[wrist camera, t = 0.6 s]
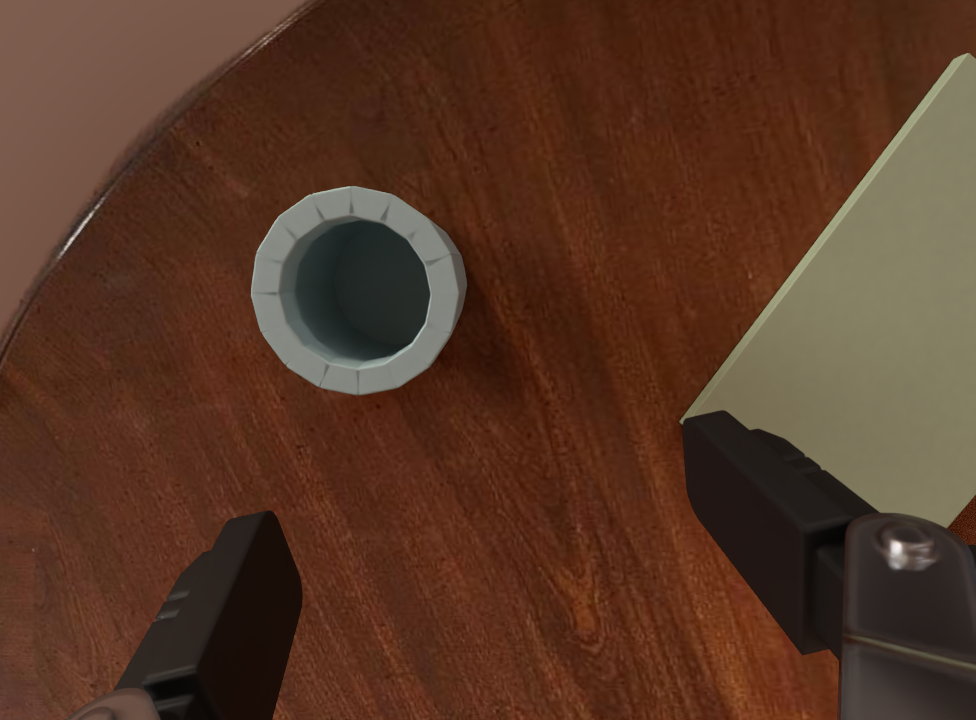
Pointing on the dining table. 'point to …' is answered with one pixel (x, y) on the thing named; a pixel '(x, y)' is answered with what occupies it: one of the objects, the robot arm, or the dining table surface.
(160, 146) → the dining table surface
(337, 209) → the cylindrical container
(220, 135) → the dining table surface
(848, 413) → the mat
